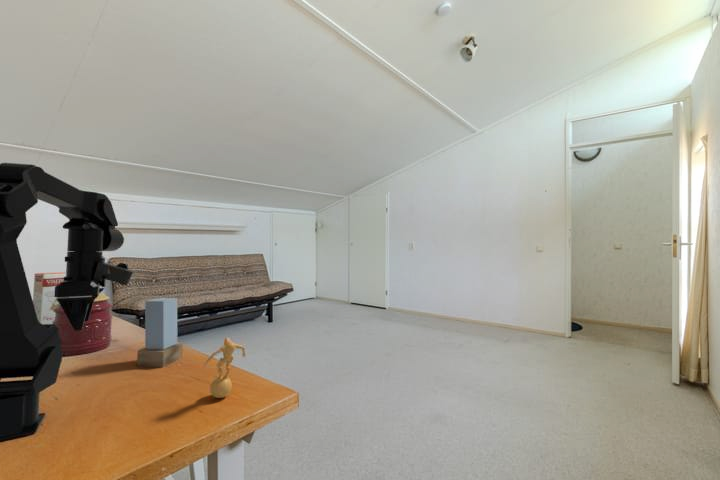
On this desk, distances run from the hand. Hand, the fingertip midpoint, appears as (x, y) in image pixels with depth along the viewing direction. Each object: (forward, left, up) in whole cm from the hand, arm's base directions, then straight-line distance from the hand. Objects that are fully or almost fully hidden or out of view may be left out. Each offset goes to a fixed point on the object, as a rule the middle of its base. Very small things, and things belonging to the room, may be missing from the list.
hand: (81, 325), depth 67 cm
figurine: (-22, -24, -13) cm, 35 cm away
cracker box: (+46, +9, -13) cm, 49 cm away
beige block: (+8, -15, -13) cm, 21 cm away
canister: (+31, +3, -13) cm, 34 cm away
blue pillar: (+8, -15, -9) cm, 19 cm away
